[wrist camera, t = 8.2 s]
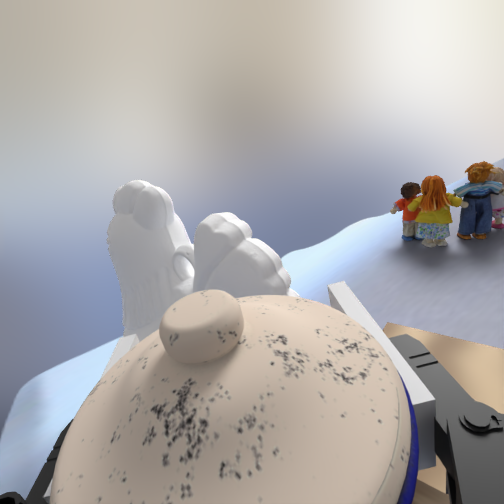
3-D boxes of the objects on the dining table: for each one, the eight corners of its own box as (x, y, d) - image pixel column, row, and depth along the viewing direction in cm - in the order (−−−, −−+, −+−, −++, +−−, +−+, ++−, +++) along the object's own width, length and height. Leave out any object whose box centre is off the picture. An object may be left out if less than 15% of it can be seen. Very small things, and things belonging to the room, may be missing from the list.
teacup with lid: (480, 573, 10) (509, 267, 6) (277, 994, 6) (-186, 1042, 2) (261, 384, 20) (209, 212, 15) (122, 495, 16) (-7, 301, 11)
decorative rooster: (126, 375, 43) (38, 203, 33) (219, 316, 51) (169, 164, 42) (227, 532, 24) (88, 232, 14) (350, 397, 32) (314, 149, 22)
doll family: (510, 219, 58) (516, 148, 53) (545, 239, 50) (558, 155, 45) (389, 237, 63) (385, 173, 58) (404, 258, 55) (400, 184, 50)
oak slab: (540, 393, 28) (546, 359, 26) (534, 581, 18) (543, 544, 17) (389, 349, 36) (387, 322, 35) (330, 461, 27) (323, 430, 25)
